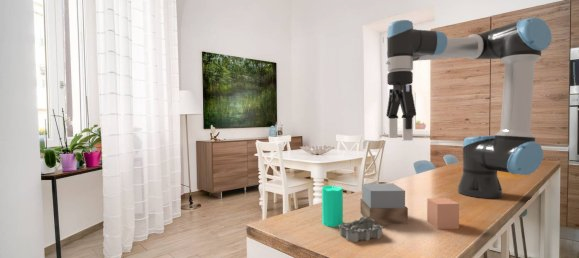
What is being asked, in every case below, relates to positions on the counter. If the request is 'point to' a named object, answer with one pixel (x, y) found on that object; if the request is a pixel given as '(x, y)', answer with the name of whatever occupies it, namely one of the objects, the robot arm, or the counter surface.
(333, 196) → the candle
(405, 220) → the tower base
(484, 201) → the counter surface
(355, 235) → the egg carton
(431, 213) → the terracotta block
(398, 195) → the gray tower middle block
